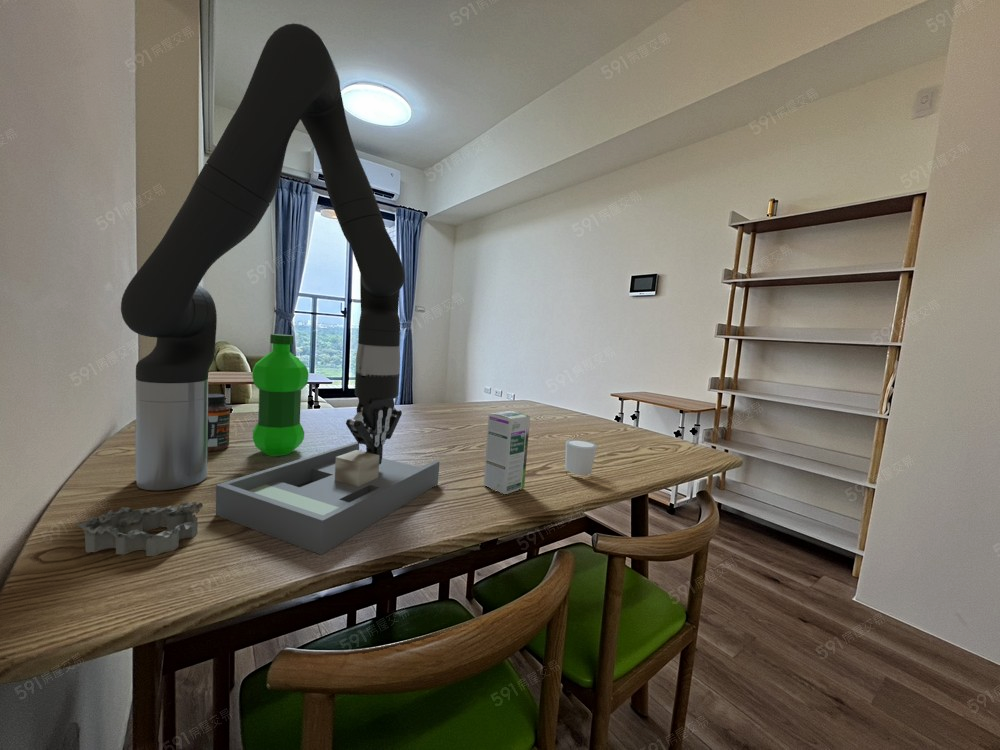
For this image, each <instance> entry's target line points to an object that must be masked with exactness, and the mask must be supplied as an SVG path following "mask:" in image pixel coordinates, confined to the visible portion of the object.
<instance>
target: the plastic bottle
mask: <svg viewBox="0 0 1000 750" xmlns="http://www.w3.org/2000/svg"><path fill="white" fill-rule="evenodd" d="M269 337H270V339H269V340H270V344H272V351H269V353H268V354H266V355H264V356H263V357H262V358H261V359H260V360H258V361H257V362H255V364H254V366H253V368H252V375H251V376H252V380H253V385H254V386H255V387H256V388H257V389H258V415H257V417H258V419H257V420H258V421H257V423H256V425H255V426H254V429H253V431H252V440H253V442H254V445H255V447H256V448H257V450H259V451H260V452H262V453H264V455H265V456H270V457H278V456H279V457H280V456H286V455H290V454H291V453H293V451H295V450H296V449H297V448H298V447H300V445H302V444H303V441H304V439H305V430H304V428H303V425H302V424H301V406H302V405H301V401H302V400H301V399H302V390H303V389H304V388H305V387H306V386H307V385H308V381H309V370H308V368H307V366H306V365H305V364H304V363H303V362H302V360H300V359H299V358H298V357H297V356H296V355H295V354H293V353H292V352H291V345H294V335H293V334H283V333H281V334H280V333H270V336H269Z"/></svg>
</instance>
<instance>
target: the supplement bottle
mask: <svg viewBox="0 0 1000 750" xmlns="http://www.w3.org/2000/svg"><path fill="white" fill-rule="evenodd" d="M230 417H231V408H230V406H229V405H228V404H227V403H226V395H225V394H222V393H208V442H207V452H215V451H216V452H217V451H222V450H224V449H226V448H228V447H229V446H230V424H231V420H230Z"/></svg>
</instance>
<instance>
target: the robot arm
mask: <svg viewBox="0 0 1000 750" xmlns="http://www.w3.org/2000/svg"><path fill="white" fill-rule="evenodd" d="M341 91H342V90H341V81H340V78H339V74H338V71H337V68H336V66H335V63H334V60H333V58H332V55H331V53H330V52H329V49H328V47H327V46H326V44H325V42H324V40H322V38H321V36H320V35H319V34H318V33H317V32H316V30H314V29H312V28H311V27H309V26H308V25H304V24H301V23H294V22H293V23H287V24H285V25H282V26H280V27H278V28H277V29H276V30H274V31H273V33H272V34H271V35H270V36H269V38H268V39H267V40H266V43H265V45H264V46H263V49H262V51H261V54H260V56H259V58H258V61H257V63H256V65H255V69H254V70H253V74H252V76H251V78H250V81H249V84H248V86H247V88H246V91H245V92H244V95H243V97H242V99H241V101H240V103H239V105H238V107H237V109H236V111H235V113H234V114H233V115H232V117H231V119H230V121H229V122H228V124H227V126H226V128H225V129H224V131H223V134H222V135H221V137H220V138H219V141H218V142H217V144H216V146H215V147H214V149H213V150H212V153H211V154H210V155H209V157H208V158H207V159H206V162H205V163H204V165H203V167H202V169H201V170H200V172H199V173H198V176H197V177H196V179H195V181H194V183H193V184H192V187H191V189H190V191H189V193H188V194H187V197H186V199H185V200H184V202H183V204H182V206H181V207H180V209H179V211H178V212H177V214H175V217H174V218H173V221H172V222H171V224H170V226H169V227H168V229H167V231H166V233H165V234H164V235H163V237H162V239H161V240H160V242H159V243H158V244H157V246H156V247H155V249H153V252H152V253H151V254H150V255H149V257H148V258H147V259H146V261H145V262H144V263H143V264H142V265H141V267H140V268H139V270H138V271H137V272H136V273H135V275H134V276H133V277H132V278H131V280H130V282H129V283H128V284H127V286H126V287H125V290H124V292H123V295H122V297H121V302H120V313H121V316H122V317H121V318H122V319H123V321H124V323H125V325H126V326H127V327H128V328H129V329H130V330H131V331H132V332H133V333H136V334H137V335H140V336H143V337H148V338H156V343H155V346H154V348H153V349H152V350H151V352H150V353H149V354H147V355H146V356H144V357H143V358H141V359H140V360H138V361H137V363H136V365H135V421H136V422H135V426H134V430H135V431H134V432H135V435H134V437H135V439H134V441H135V443H134V446H135V447H134V448H135V449H134V451H135V452H134V454H135V463H134V464H135V480H136V487H138V488H139V489H142V490H146V491H168V490H177V489H181V488H186V487H190V486H193V485H197V484H199V483H201V482H203V481H205V480H206V478H207V477H208V451H207V442H208V394H209V372H210V368H211V366H212V365H213V362H214V359H215V353H216V352H215V350H216V339H217V336H216V335H217V323H218V321H217V319H218V318H217V307H216V303H215V301H214V298H213V297H212V295H211V293H210V292H209V291H208V290H207V289H205V287H204V286H203V287H202V285H200V283H201V281H202V280H203V278H204V277H205V275H206V273H207V272H208V270H209V269H210V268H211V267H212V265H214V264H215V263H216V261H218V260H219V259H220V258H221V257H223V256H224V255H225V254H226V253H228V252H229V251H231V250H232V249H234V247H236V246H237V245H239V244H240V243H241V242H242V241H244V240H245V239H246V238H248V236H249V235H251V234H252V233H253V231H254V230H256V228H257V226H258V225H259V224H260V222H261V220H263V219H262V218H263V217H264V216H265V214H266V212H267V210H268V209H269V207H270V205H271V203H272V202H273V199H274V198H275V195H276V192H277V190H278V187H279V184H280V179H281V177H282V176H281V175H282V172H283V168H284V167H283V166H284V163H285V162H284V161H285V157H286V152H287V148H288V146H289V142H290V140H291V137H292V135H293V133H294V131H295V129H296V127H297V125H299V122H300V121H301V123H302V125H303V127H304V128H305V130H306V131H307V133H308V134H307V135H308V136H309V139H310V140H311V143H312V145H313V148H314V150H315V153H316V156H317V158H318V161H319V165H320V168H321V173H322V176H323V180H324V185H325V186H326V190H327V194H328V199H329V201H330V203H331V205H332V209H333V211H334V214H335V217H336V219H337V222H338V224H339V226H340V229H341V232H342V233H343V236H344V237H345V239H346V241H347V243H348V244H349V245H350V248H351V251H352V253H353V256H354V259H355V263H356V264H357V267H358V271H359V273H360V275H359V276H360V278H359V281H360V282H359V283H360V284H359V286H360V287H359V289H360V290H359V291H360V292H359V293H360V298H359V299H360V316H359V321H358V322H359V323H358V336H357V337H358V341H357V350H356V356H355V373H354V374H355V375H354V377H355V379H354V380H355V381H354V395H355V397H357V399H358V405H357V406H356V414H355V415H354V417H353V418H348V419H347V420H346V422H345V425H346V426H347V429H349V431H350V434H352V436H353V437H354V439H355V440H356V441H355V442H358V443H359V445H365V446H366V448H365V449H366V450H365V452H368V453H372V454H376V455H380V456H379V465H380V464H381V462H382V458H383V451H384V445H385V443H386V440H390V439H391V438H392V436H393V434H394V431H395V430H396V427H397V425H398V424H399V421H400V418H401V416H402V414H403V412H402V410H399V409H396V407H395V401H394V399H396V398H398V397H399V394H400V393H399V391H400V371H401V352H400V343H401V342H400V341H401V319H400V315H399V308H400V307H399V304H400V292H401V291H400V290H401V289H402V287H403V286H404V284H405V279H406V278H405V277H406V276H405V269H404V266H403V261H402V260H401V258H400V255H399V253H398V250H397V249H396V246H395V245H394V243H393V241H392V238H391V236H390V233H389V232H388V231H387V229H386V226H385V225H386V224H385V221H384V217H383V216H382V213H381V209H380V207H379V205H378V201H377V198H376V196H375V193H374V191H373V189H372V185H371V184H370V181H369V179H368V175H367V174H366V171H365V169H364V167H363V165H362V162H361V160H360V158H359V156H358V153H357V150H356V147H355V145H354V141H353V139H352V135H351V133H350V128H349V126H348V121H347V117H346V112H345V106H344V101H343V97H342V95H343V94H342V92H341Z"/></svg>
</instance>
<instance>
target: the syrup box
mask: <svg viewBox="0 0 1000 750" xmlns="http://www.w3.org/2000/svg"><path fill="white" fill-rule="evenodd" d="M530 422H531V416H530V415H528V414H526V413H522V412H518V411H512V410H507V411H500V412H494V413H493V412H492V413H491V412H490V413H488V422H487V432H486V433H487V434H486V445H485V446H486V448H485V461H484V476H483V477H484V478H483V486H484V485H485V486H487V487H490V488H492V489H494V490H497V491H499V492H501V493H503V494H507V495H508V494H511V493H514V492H516V491H517V492H518V491H520V490H522V489H521V488H523V487H524V488H525V484H526V483H525V482H526V473H527V472H526V470H527V457H528V448H529V447H528V445H529V435H530V434H529V433H530ZM485 486H484V487H485ZM487 487H486V488H487ZM524 488H523V489H524ZM519 489H520V490H519ZM503 494H502V495H503Z"/></svg>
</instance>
